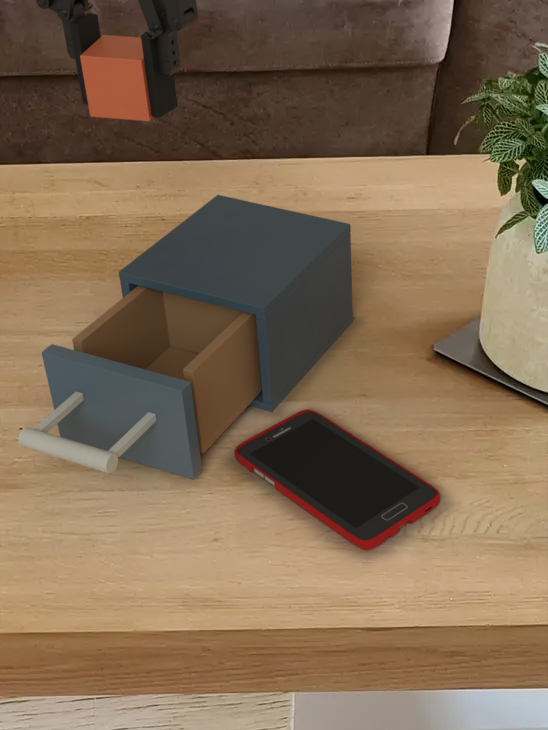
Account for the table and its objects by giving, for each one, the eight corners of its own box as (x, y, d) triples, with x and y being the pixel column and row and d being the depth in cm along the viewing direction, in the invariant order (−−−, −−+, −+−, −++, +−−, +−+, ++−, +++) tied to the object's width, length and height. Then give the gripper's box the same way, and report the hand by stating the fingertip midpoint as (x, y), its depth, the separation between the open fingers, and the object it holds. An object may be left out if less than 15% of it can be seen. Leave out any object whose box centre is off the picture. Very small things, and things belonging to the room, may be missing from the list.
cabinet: (272, 413, 91) (263, 308, 85) (135, 375, 95) (118, 271, 89) (353, 322, 102) (350, 223, 96) (227, 291, 106) (217, 194, 100)
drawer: (144, 533, 79) (128, 442, 74) (5, 489, 82) (-19, 399, 77) (283, 381, 93) (278, 296, 88) (161, 348, 96) (149, 265, 92)
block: (89, 117, 94) (79, 55, 91) (112, 94, 98) (102, 34, 95) (149, 121, 94) (141, 60, 91) (169, 98, 98) (162, 38, 95)
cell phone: (366, 556, 79) (366, 546, 78) (229, 459, 86) (228, 448, 86) (445, 503, 83) (445, 493, 83) (308, 415, 91) (308, 405, 90)
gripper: (229, -212, 82) (254, 107, 96) (6, -235, 87) (61, 71, 101) (171, -195, 76) (207, 141, 90) (-63, -220, 81) (6, 102, 96)
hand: (130, 104), depth 96 cm, fingers closed on block, 6 cm apart
